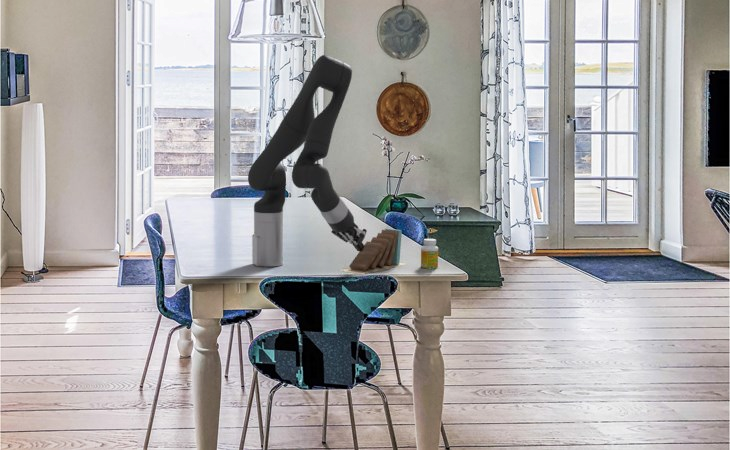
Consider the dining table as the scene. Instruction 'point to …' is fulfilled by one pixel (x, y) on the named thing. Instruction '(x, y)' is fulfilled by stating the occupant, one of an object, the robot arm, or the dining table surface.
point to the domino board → (371, 269)
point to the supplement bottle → (429, 254)
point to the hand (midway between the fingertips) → (361, 249)
